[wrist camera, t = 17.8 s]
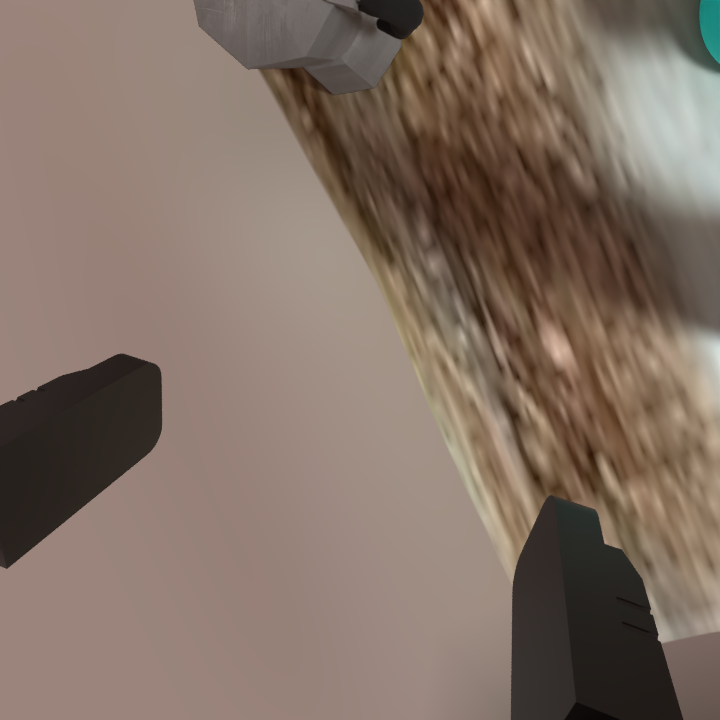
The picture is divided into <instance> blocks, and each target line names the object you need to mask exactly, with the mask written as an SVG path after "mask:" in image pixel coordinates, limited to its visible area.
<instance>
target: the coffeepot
mask: <svg viewBox="0 0 720 720" xmlns="http://www.w3.org/2000/svg"><path fill="white" fill-rule="evenodd" d="M194 3H195V9H196V14H197V18H198V24H199V27H201V28H202V29H203V30H204V31H205V32H206V33H207V34H208V35H210V36H211V37H212V38H213V39H214V40H215V41H216V42H217V43H218V44H220V45H221V46H222V47H223V48H224V49H225V50H226V51H227V52H229V53H230V54H231V55H232V56H233V57H234V58H235V59H237V60H238V61H239V62H240V63H241V64H242V65H243V66H244V67H246V68H247V69H272V68H299V67H303V68H304V69H305V70H306V71H307V72H308V73H310V74H311V75H312V76H313V77H314V78H315V79H316V80H317V81H318V82H320V83H321V84H322V85H323V86H324V87H325V88H326V89H327V90H329V91H330V92H331V93H332V94H333V95H338V94H344V93H351V92H356V91H360V90H365V89H371V88H375V86H376V84H377V83H378V81H379V80H380V78H381V77H382V76H383V74H384V73H385V72H386V70H387V69H388V68H389V66H390V64H391V62H392V60H393V59H394V57H395V55H396V54H397V52H398V51H399V49H400V48H401V46H402V44H401V39H406V38H407V37H408V36H409V35H410V34H411V33H412V32H413V31H414V30H415V29H416V28H417V27H418V26H419V25H420V24H421V22H422V18H423V14H424V13H423V7H422V4H421V3H420V1H419V0H194Z"/></svg>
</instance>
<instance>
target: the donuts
mask: <svg viewBox="0 0 720 720" xmlns="http://www.w3.org/2000/svg"><path fill="white" fill-rule="evenodd" d="M699 21H700V29H701V34H702V38H703V40H704V43H705V45H706V47H707V49H708V51H709V52H710V54H711V55H712V56H713V58H714V59H715V60H716V61H717V62H718V63H719V64H720V0H701V2H700V11H699Z"/></svg>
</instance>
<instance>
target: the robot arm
mask: <svg viewBox="0 0 720 720" xmlns="http://www.w3.org/2000/svg"><path fill="white" fill-rule="evenodd" d="M161 430H162V384H161V371H160V368H159V367H158V366H157V365H156V364H154V363H151V362H148V361H145V360H141V359H138V358H135V357H132V356H129V355H126V354H117V355H115V356H113V357H111V358H109V359H107V360H105V361H103V362H101V363H99V364H97V365H95V366H93V367H91V368H89V369H86V370H82V371H78V372H74V373H70V374H66V375H62V376H60V377H58V378H56V379H54V380H52V381H50V382H48V383H46V384H44V385H42V386H40V387H38V389H37V390H36V391H35V390H31V391H29V392H27V393H25V394H23V395H21V396H19V397H17V400H16V401H13V400H11V401H9V402H7V403H5V404H3V405H1V406H0V566H2V567H4V568H6V569H7V568H8V567H10V566H11V565H12V564H13V563H15V562H16V561H17V560H18V559H20V558H21V557H22V556H23V555H24V554H26V553H27V552H28V551H29V550H31V549H32V548H33V547H34V546H36V545H37V544H38V543H39V542H40V541H42V540H43V539H44V538H45V537H47V536H48V535H49V534H50V533H52V532H53V531H54V530H55V529H56V528H58V527H59V526H60V525H61V524H62V523H64V522H65V521H66V520H67V519H69V518H70V517H71V516H72V515H74V514H75V513H76V512H77V511H79V510H80V509H81V508H82V507H83V506H85V505H86V504H87V503H88V502H90V501H91V500H92V499H93V498H95V497H96V496H97V495H98V494H99V493H101V492H102V491H103V490H104V489H106V488H107V487H108V486H109V485H111V483H112V482H114V481H115V480H117V479H118V478H119V477H120V476H122V475H123V474H124V473H125V472H126V471H127V470H129V469H130V468H131V467H133V466H134V465H135V464H136V463H138V462H139V461H140V460H141V459H142V458H144V457H145V456H146V455H147V454H148V453H149V452H150V451H151V450H152V449H153V448H154V446H155V445H156V443H157V441H158V439H159V437H160V434H161ZM512 593H513V596H512V597H513V599H512V675H511V720H683V717H682V714H681V710H680V707H679V704H678V700H677V697H676V693H675V690H674V686H673V683H672V679H671V676H670V673H669V669H668V666H667V662H666V659H665V655H664V652H663V649H662V645H661V642H660V641H658V631H657V628H656V625H655V621H654V618H653V615H651V614H650V610H651V607H650V604H649V601H648V597H647V594H646V590H645V587H644V583H643V580H642V578H641V577H640V575H639V574H638V572H637V571H636V569H635V568H634V567H633V565H632V564H631V562H630V561H629V559H628V558H627V556H626V555H625V554H624V552H623V551H622V550H621V549H618V548H615V547H612V546H609V545H606V544H604V540H603V535H602V531H601V526H600V522H599V517H598V514H597V512H596V510H595V509H592V508H589V507H586V506H583V505H580V504H577V503H574V502H571V501H568V500H565V499H562V498H559V497H555V496H552V495H550V496H549V497H548V498H547V499H546V501H545V502H544V504H543V506H542V508H541V511H540V513H539V515H538V517H537V519H536V522H535V524H534V526H533V528H532V530H531V532H530V535H529V537H528V539H527V541H526V543H525V545H524V548H523V550H522V552H521V554H520V557H519V560H518V563H517V566H516V570H515V575H514V581H513V592H512Z"/></svg>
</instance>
